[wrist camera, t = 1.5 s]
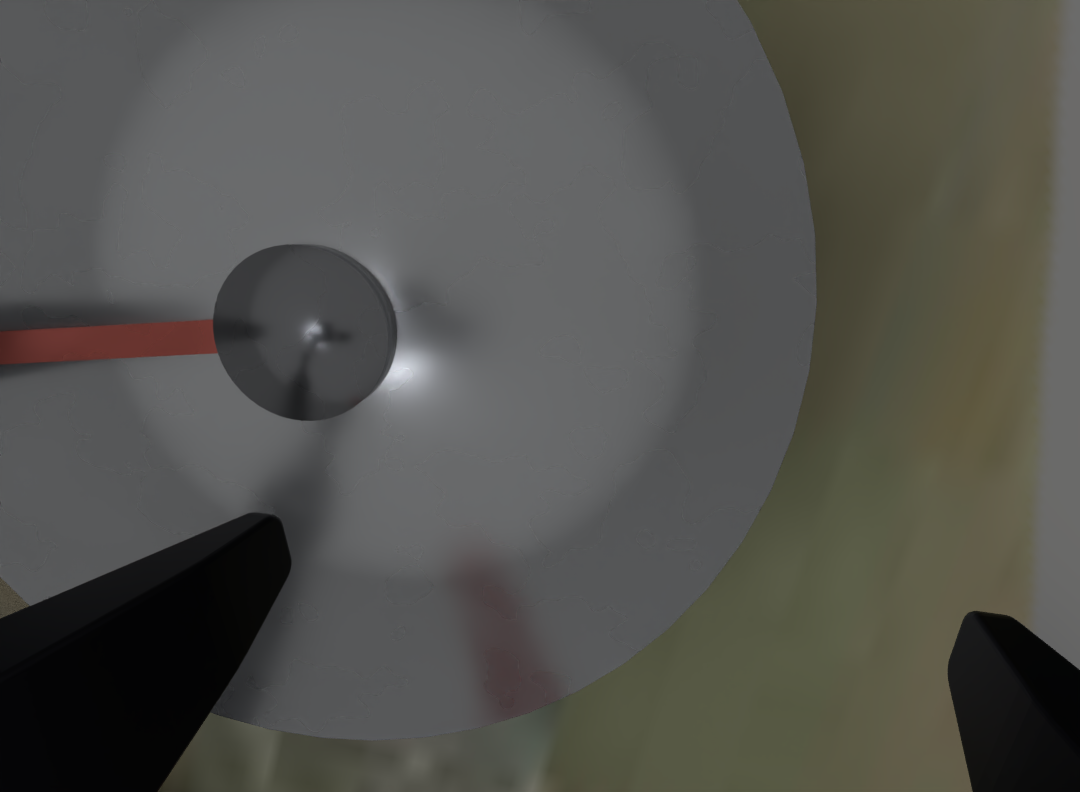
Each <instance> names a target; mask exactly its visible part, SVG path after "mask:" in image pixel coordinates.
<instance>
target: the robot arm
mask: <svg viewBox="0 0 1080 792" xmlns="http://www.w3.org/2000/svg"><path fill="white" fill-rule="evenodd" d="M291 565H292V559H291V554H290V550H289V546H288V542H287V538H286V534H285V530H284V526H283V523H282V521H281V519H280V518H279V517H278V516H276V515H273V514H266V513H259V512H251V513H247V514H245V515H243V516H240V517H238V518H236V519H233V520H231V521H228V522H226V523H224V524H221V525H219V526H217V527H214V528H212V529H210V530H207V531H205V532H203V533H200V534H198V535H196V536H193V537H191V538H189V539H186V540H184V541H182V542H179V543H177V544H174V545H172V546H170V547H167V548H165V549H163V550H160V551H158V552H156V553H153V554H151V555H149V556H146V557H144V558H142V559H139V560H137V561H135V562H132V563H130V564H128V565H125V566H123V567H120V568H118V569H116V570H113V571H111V572H109V573H106V574H104V575H102V576H99V577H97V578H95V579H92V580H90V581H88V582H85V583H83V584H81V585H78V586H76V587H74V588H71V589H69V590H67V591H64V592H62V593H59V594H57V595H55V596H52V597H50V598H48V599H45V600H43V601H41V602H38V603H36V604H34V605H31V606H29V607H27V608H24V609H22V610H20V611H17V612H15V613H13V614H10V615H8V616H5V617H3V618H1V619H0V792H158V790H159V789H160V787H161V786H162V784H163V783H164V781H165V780H166V778H167V777H168V775H169V774H170V772H171V771H172V769H173V768H174V766H175V765H176V763H177V762H178V760H179V759H180V757H181V756H182V754H183V753H184V751H185V750H186V748H187V747H188V745H189V744H190V742H191V740H192V739H193V737H194V736H195V734H196V733H197V731H198V730H199V728H200V727H201V725H202V724H203V722H204V721H205V719H206V718H207V716H208V715H209V713H210V712H211V710H212V709H213V707H214V706H215V704H216V703H217V701H218V700H219V698H220V697H221V695H222V694H223V692H224V691H225V689H226V688H227V686H228V685H229V683H230V681H231V680H232V678H233V677H234V675H235V673H236V672H237V670H238V669H239V667H240V665H241V663H242V662H243V660H244V658H245V656H246V655H247V653H248V651H249V649H250V647H251V645H252V644H253V642H254V640H255V638H256V636H257V634H258V632H259V630H260V629H261V627H262V625H263V623H264V621H265V619H266V617H267V616H268V614H269V612H270V610H271V608H272V606H273V604H274V602H275V601H276V599H277V597H278V595H279V593H280V591H281V589H282V587H283V586H284V584H285V582H286V580H287V578H288V576H289V573H290V570H291ZM948 681H949V686H950V691H951V696H952V700H953V705H954V709H955V714H956V718H957V723H958V727H959V732H960V736H961V741H962V745H963V750H964V754H965V759H966V764H967V768H968V773H969V777H970V782H971V786H972V791H973V792H1080V670H1079V669H1078V668H1077V667H1075V666H1074V665H1073V664H1072V663H1070V662H1069V661H1068V660H1067V659H1065V658H1064V657H1063V656H1061V655H1060V654H1059V653H1058V652H1056V651H1055V650H1054V649H1053V648H1051V647H1050V646H1049V645H1048V644H1046V643H1045V642H1044V641H1043V640H1041V639H1040V638H1039V637H1037V636H1036V635H1035V634H1034V633H1032V632H1031V631H1030V630H1029V629H1027V628H1026V627H1025V626H1024V625H1022V624H1021V623H1020V622H1018V621H1017V620H1016V619H1014V618H1012V617H1010V616H1007V615H1002V614H995V613H988V612H980V611H972V612H969V613H968V614H967V615H966V616H965V617H964V619H963V622H962V624H961V627H960V630H959V633H958V636H957V639H956V642H955V644H954V647H953V650H952V653H951V656H950V659H949V663H948Z"/></svg>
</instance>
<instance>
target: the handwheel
mask: <svg viewBox="0 0 1080 792" xmlns="http://www.w3.org/2000/svg"><path fill="white" fill-rule="evenodd" d="M816 305H817V297H816V253H815V231H814V225H813V218H812V212H811V206H810V199H809V193H808V187H807V180H806V174H805V168H804V162H803V159H802V156H801V152H800V149H799V146H798V142H797V139H796V136H795V132H794V129H793V126H792V122H791V119H790V115H789V112H788V109H787V105H786V102H785V99H784V95H783V92H782V90H781V88H780V85H779V83H778V81H777V79H776V77H775V74H774V72H773V70H772V68H771V66H770V63H769V61H768V59H767V57H766V55H765V52H764V50H763V48H762V46H761V44H760V41H759V39H758V37H757V35H756V33H755V30H754V28H753V26H752V24H751V22H750V20H749V19H748V17H747V15H746V14H745V12H744V11H743V9H742V7H741V6H740V4H739V3H738V1H737V0H0V577H1V578H2V579H3V580H4V581H5V582H6V583H7V584H8V585H9V586H10V587H11V588H12V589H13V590H14V591H15V592H16V593H17V594H18V595H19V596H20V597H21V598H22V599H23V600H24V601H25V602H26V603H27V604H28V605H30V606H31V605H34V604H36V603H38V602H41V601H43V600H45V599H48V598H50V597H52V596H55V595H57V594H59V593H62V592H64V591H67V590H69V589H71V588H74V587H76V586H78V585H81V584H83V583H85V582H88V581H90V580H92V579H95V578H97V577H99V576H102V575H104V574H106V573H109V572H111V571H113V570H116V569H118V568H120V567H123V566H125V565H128V564H130V563H132V562H135V561H137V560H139V559H142V558H144V557H146V556H149V555H151V554H153V553H156V552H158V551H160V550H163V549H165V548H167V547H170V546H172V545H174V544H177V543H179V542H182V541H184V540H186V539H189V538H191V537H193V536H196V535H198V534H200V533H203V532H205V531H207V530H210V529H212V528H214V527H217V526H219V525H221V524H224V523H226V522H228V521H231V520H233V519H236V518H238V517H240V516H243V515H245V514H247V513H251V512H259V513H266V514H273V515H276V516H278V517H279V518H280V519H281V521H282V523H283V526H284V530H285V534H286V538H287V542H288V546H289V550H290V554H291V559H292V565H291V570H290V573H289V576H288V578H287V580H286V582H285V584H284V586H283V587H282V589H281V591H280V593H279V595H278V597H277V599H276V601H275V602H274V604H273V606H272V608H271V610H270V612H269V614H268V616H267V617H266V619H265V621H264V623H263V625H262V627H261V629H260V630H259V632H258V634H257V636H256V638H255V640H254V642H253V644H252V645H251V647H250V649H249V651H248V653H247V655H246V656H245V658H244V660H243V662H242V663H241V665H240V667H239V669H238V670H237V672H236V673H235V675H234V677H233V678H232V680H231V681H230V683H229V685H228V686H227V688H226V689H225V691H224V692H223V694H222V695H221V697H220V698H219V700H218V701H217V703H216V704H215V706H214V707H213V709H212V710H211V713H214V714H216V715H220V716H223V717H227V718H230V719H234V720H238V721H241V722H245V723H249V724H252V725H256V726H259V727H263V728H267V729H271V730H277V731H283V732H290V733H296V734H302V735H308V736H314V737H320V738H337V739H356V740H390V739H406V738H423V737H431V736H437V735H442V734H448V733H454V732H459V731H465V730H470V729H476V728H480V727H484V726H487V725H490V724H494V723H497V722H500V721H504V720H507V719H510V718H513V717H517V716H520V715H523V714H527V713H530V712H532V711H534V710H536V709H539V708H541V707H543V706H546V705H548V704H550V703H552V702H555V701H557V700H559V699H561V698H564V697H566V696H568V695H570V694H573V693H575V692H577V691H579V690H581V689H582V688H584V687H586V686H587V685H589V684H591V683H592V682H594V681H596V680H597V679H599V678H601V677H602V676H604V675H606V674H607V673H609V672H611V671H612V670H614V669H616V668H617V667H619V666H621V665H622V664H624V663H625V662H627V661H628V660H629V659H630V658H632V657H633V656H634V655H636V654H637V653H638V652H639V651H641V650H642V649H643V648H644V647H646V646H647V645H648V644H649V643H651V642H652V641H653V640H655V639H656V638H657V637H658V636H660V635H661V634H662V633H663V632H665V631H666V630H667V629H668V628H669V627H670V626H671V625H672V624H673V623H674V622H675V621H676V620H677V619H678V618H679V617H680V616H681V615H682V614H683V613H684V612H685V611H686V610H687V609H688V608H689V607H690V606H691V605H692V604H693V603H694V602H695V601H696V600H697V599H698V598H699V597H700V596H701V595H702V593H703V592H704V591H705V590H706V589H707V588H708V587H709V586H710V584H711V583H712V582H713V580H714V579H715V578H716V576H717V575H718V574H719V572H720V571H721V570H722V568H723V567H724V565H725V564H726V563H727V561H728V560H729V559H730V557H731V556H732V555H733V553H734V552H735V551H736V549H737V548H738V547H739V545H740V544H741V543H742V541H743V539H744V538H745V536H746V534H747V532H748V530H749V529H750V527H751V525H752V523H753V521H754V520H755V518H756V516H757V514H758V513H759V511H760V509H761V507H762V505H763V504H764V502H765V500H766V498H767V496H768V495H769V493H770V491H771V489H772V486H773V484H774V481H775V479H776V476H777V474H778V471H779V469H780V466H781V464H782V461H783V459H784V456H785V454H786V451H787V449H788V446H789V443H790V441H791V438H792V436H793V433H794V430H795V426H796V422H797V418H798V414H799V410H800V406H801V402H802V398H803V394H804V390H805V386H806V382H807V378H808V374H809V368H810V359H811V350H812V341H813V332H814V323H815V314H816Z"/></svg>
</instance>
